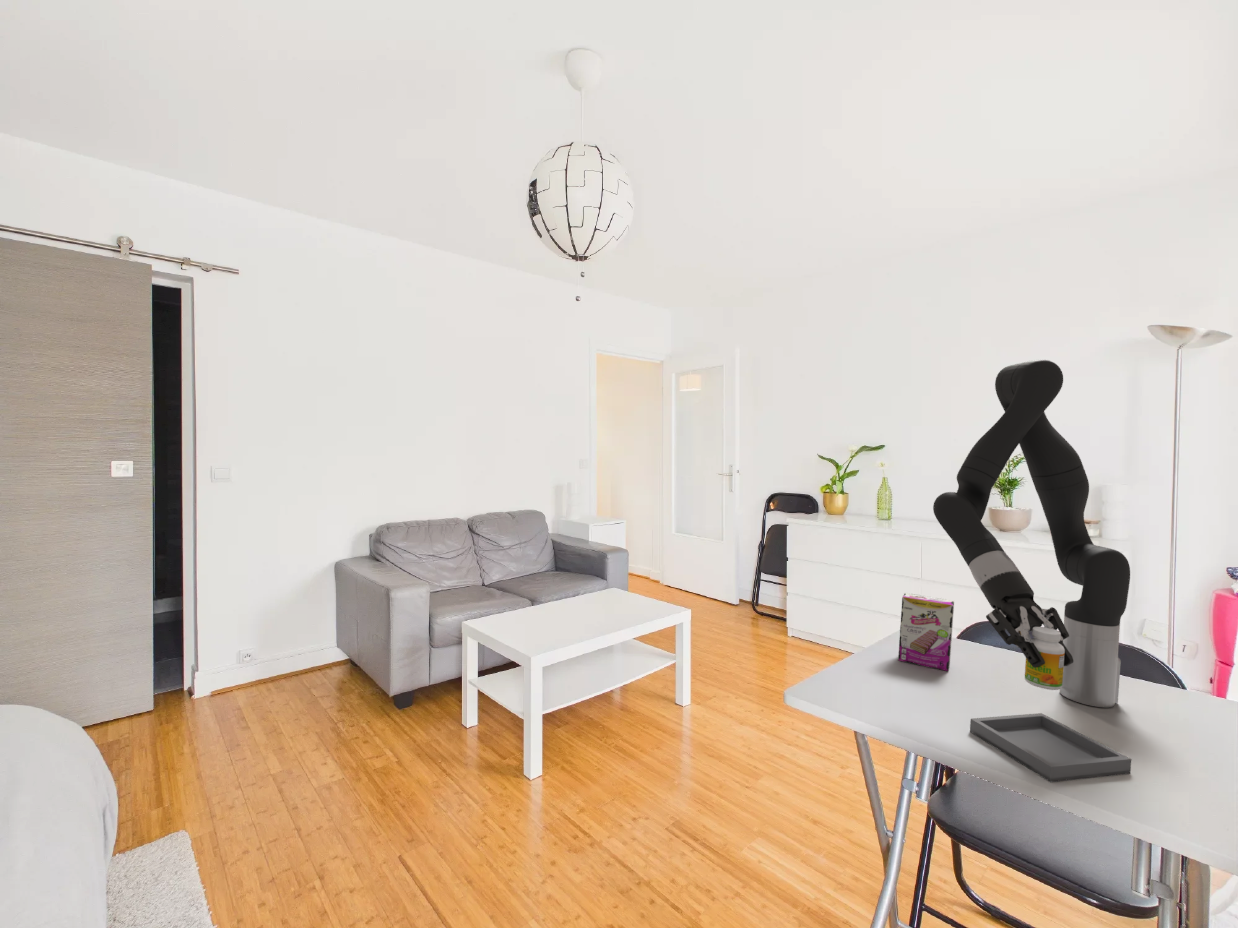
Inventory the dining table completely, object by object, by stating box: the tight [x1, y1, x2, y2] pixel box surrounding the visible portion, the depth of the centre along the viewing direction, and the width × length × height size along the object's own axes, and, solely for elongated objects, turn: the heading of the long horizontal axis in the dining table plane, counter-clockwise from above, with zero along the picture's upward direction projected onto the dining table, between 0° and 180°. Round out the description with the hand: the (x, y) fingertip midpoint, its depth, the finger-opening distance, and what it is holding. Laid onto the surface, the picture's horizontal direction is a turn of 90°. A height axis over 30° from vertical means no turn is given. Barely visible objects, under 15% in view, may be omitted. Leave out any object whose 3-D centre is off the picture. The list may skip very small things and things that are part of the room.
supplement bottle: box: [1024, 626, 1065, 691], centre depth 100 cm, size 5×5×10 cm
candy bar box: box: [897, 592, 955, 672], centre depth 139 cm, size 11×5×16 cm, turn 58°
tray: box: [969, 712, 1132, 783], centre depth 100 cm, size 16×16×2 cm
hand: (1054, 664), depth 99 cm, fingers closed on supplement bottle, 5 cm apart
